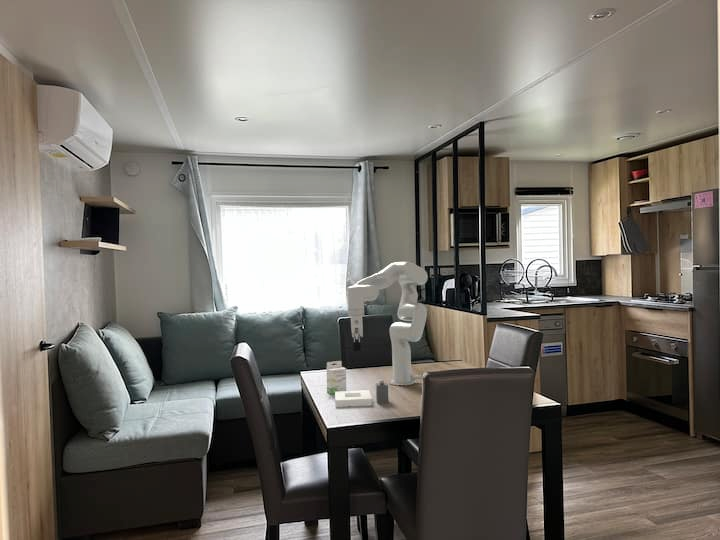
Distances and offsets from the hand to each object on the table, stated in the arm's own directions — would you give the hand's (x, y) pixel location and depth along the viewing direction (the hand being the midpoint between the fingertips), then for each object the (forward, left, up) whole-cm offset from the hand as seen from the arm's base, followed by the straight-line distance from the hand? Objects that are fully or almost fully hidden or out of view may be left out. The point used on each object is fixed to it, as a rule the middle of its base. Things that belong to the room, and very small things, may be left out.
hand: (357, 349), depth 238 cm
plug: (-10, +11, -22) cm, 27 cm away
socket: (+3, +8, -22) cm, 24 cm away
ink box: (+10, -11, -23) cm, 27 cm away
